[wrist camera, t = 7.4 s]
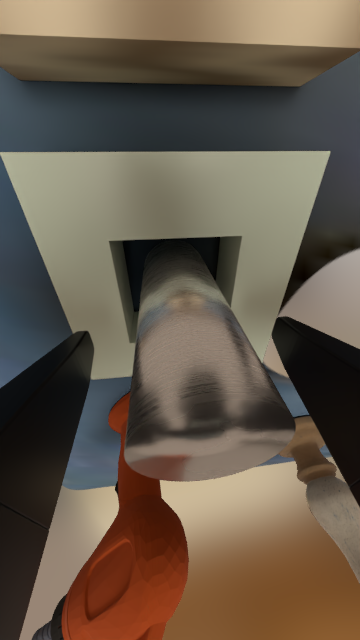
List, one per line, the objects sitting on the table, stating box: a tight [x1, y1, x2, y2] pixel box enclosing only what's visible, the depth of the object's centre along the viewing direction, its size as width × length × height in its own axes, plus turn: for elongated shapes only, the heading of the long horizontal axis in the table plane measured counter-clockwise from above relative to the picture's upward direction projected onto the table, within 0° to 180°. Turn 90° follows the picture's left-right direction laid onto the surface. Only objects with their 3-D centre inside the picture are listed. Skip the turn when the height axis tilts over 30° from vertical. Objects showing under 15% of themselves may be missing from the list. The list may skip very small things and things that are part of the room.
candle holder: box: [278, 416, 360, 583], centre depth 22 cm, size 9×9×20 cm
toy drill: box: [32, 392, 189, 640], centre depth 18 cm, size 5×19×15 cm, turn 140°
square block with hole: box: [0, 151, 331, 380], centre depth 12 cm, size 12×12×4 cm
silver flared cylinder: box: [124, 240, 296, 481], centre depth 9 cm, size 4×4×11 cm
